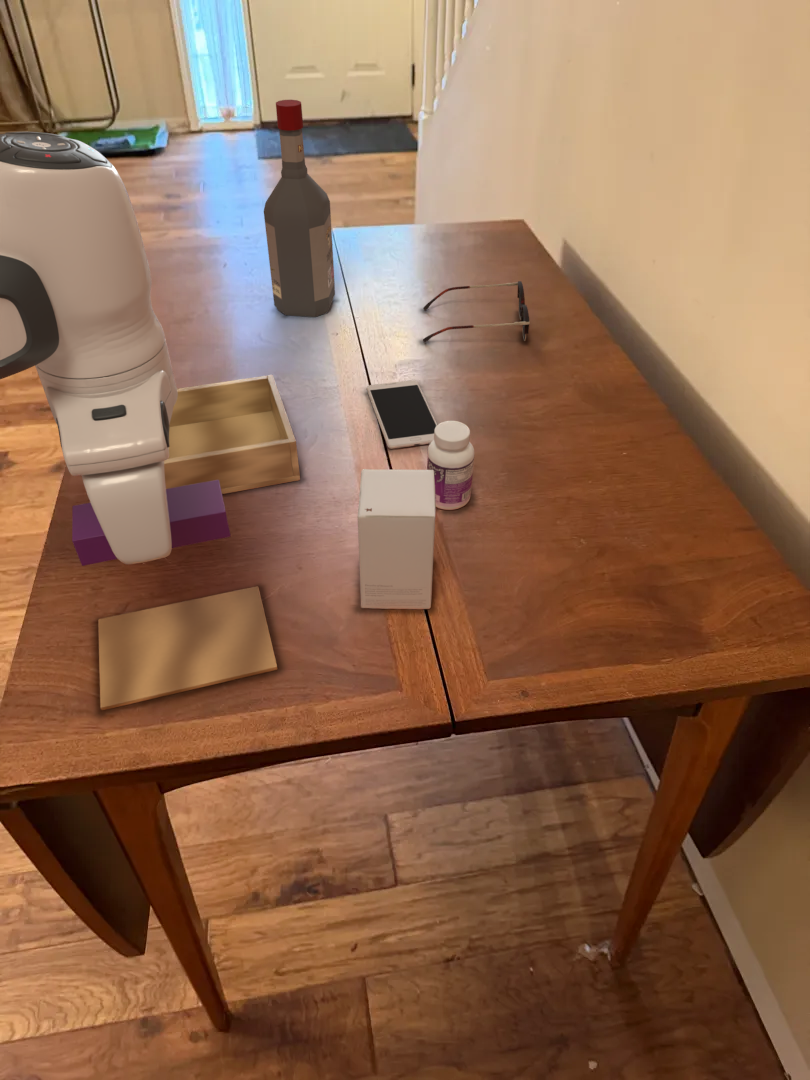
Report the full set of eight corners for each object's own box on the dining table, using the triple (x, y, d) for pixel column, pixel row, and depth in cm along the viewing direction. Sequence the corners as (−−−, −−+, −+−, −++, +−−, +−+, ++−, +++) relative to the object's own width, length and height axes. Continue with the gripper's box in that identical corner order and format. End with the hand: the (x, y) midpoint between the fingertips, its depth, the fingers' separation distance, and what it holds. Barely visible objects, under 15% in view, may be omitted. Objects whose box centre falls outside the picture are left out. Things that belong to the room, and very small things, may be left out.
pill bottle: (419, 488, 94) (420, 421, 87) (459, 479, 95) (464, 412, 88) (436, 516, 90) (439, 448, 83) (477, 506, 91) (484, 438, 85)
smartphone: (388, 446, 98) (365, 385, 109) (388, 450, 99) (365, 388, 110) (445, 439, 100) (417, 378, 110) (445, 443, 100) (417, 382, 111)
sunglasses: (528, 349, 119) (530, 318, 115) (423, 353, 119) (421, 323, 116) (520, 307, 129) (521, 278, 125) (423, 311, 129) (422, 282, 126)
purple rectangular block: (81, 566, 63) (71, 541, 61) (81, 530, 66) (72, 505, 64) (230, 537, 65) (225, 511, 63) (223, 504, 69) (218, 479, 67)
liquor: (337, 294, 132) (326, 95, 111) (327, 319, 125) (314, 113, 105) (284, 291, 132) (264, 93, 112) (272, 315, 126) (248, 110, 105)
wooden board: (101, 710, 70) (100, 707, 70) (99, 622, 78) (97, 619, 77) (277, 669, 73) (277, 666, 73) (258, 589, 81) (258, 585, 81)
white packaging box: (431, 611, 79) (436, 517, 70) (359, 609, 79) (354, 516, 71) (431, 560, 84) (435, 468, 76) (363, 559, 85) (360, 466, 76)
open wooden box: (134, 510, 90) (122, 470, 86) (128, 435, 101) (117, 397, 97) (300, 480, 95) (296, 441, 91) (277, 411, 105) (272, 374, 102)
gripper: (66, 322, 62) (110, 461, 72) (62, 473, 48) (118, 621, 57) (147, 312, 64) (179, 449, 73) (167, 455, 49) (204, 603, 59)
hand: (153, 526), depth 65 cm, fingers closed on purple rectangular block, 4 cm apart
